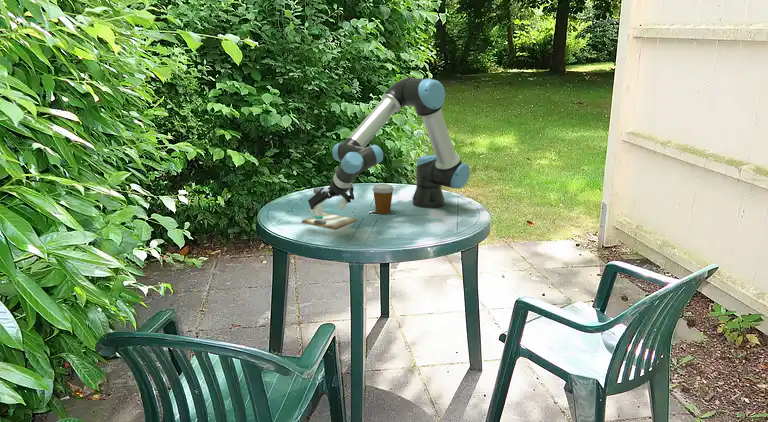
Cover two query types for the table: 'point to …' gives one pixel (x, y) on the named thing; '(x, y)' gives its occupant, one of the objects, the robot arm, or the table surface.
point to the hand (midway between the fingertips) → (326, 209)
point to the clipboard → (330, 221)
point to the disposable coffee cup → (383, 198)
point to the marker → (318, 207)
